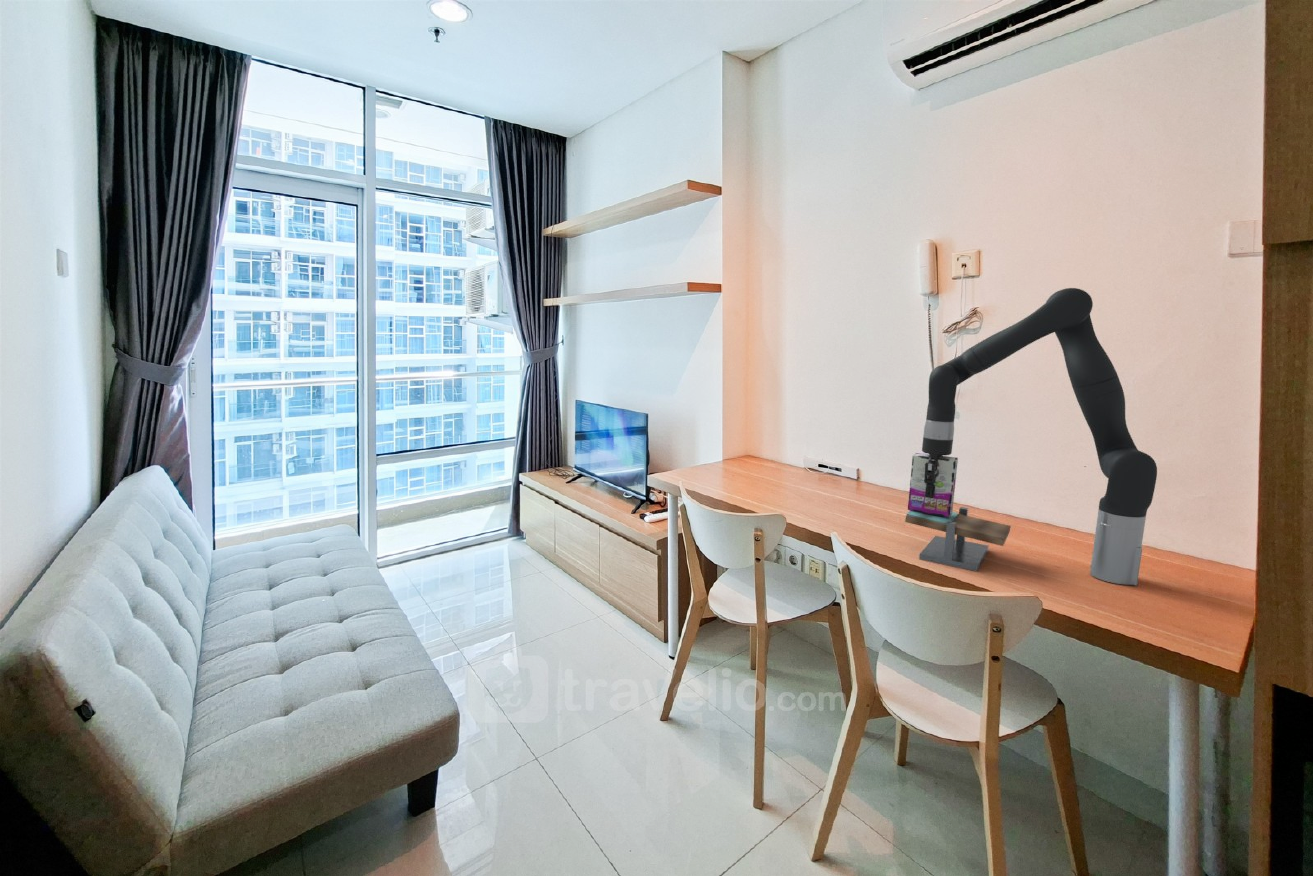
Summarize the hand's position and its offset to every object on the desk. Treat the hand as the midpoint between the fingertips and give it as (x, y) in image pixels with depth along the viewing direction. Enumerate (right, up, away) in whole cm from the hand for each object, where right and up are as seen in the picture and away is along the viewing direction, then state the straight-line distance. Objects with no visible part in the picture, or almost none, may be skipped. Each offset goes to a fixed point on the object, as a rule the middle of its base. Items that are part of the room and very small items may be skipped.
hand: (931, 495), depth 161 cm
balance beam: (+6, -8, -3) cm, 10 cm away
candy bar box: (0, -5, +1) cm, 5 cm away
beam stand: (+5, -17, -2) cm, 18 cm away
